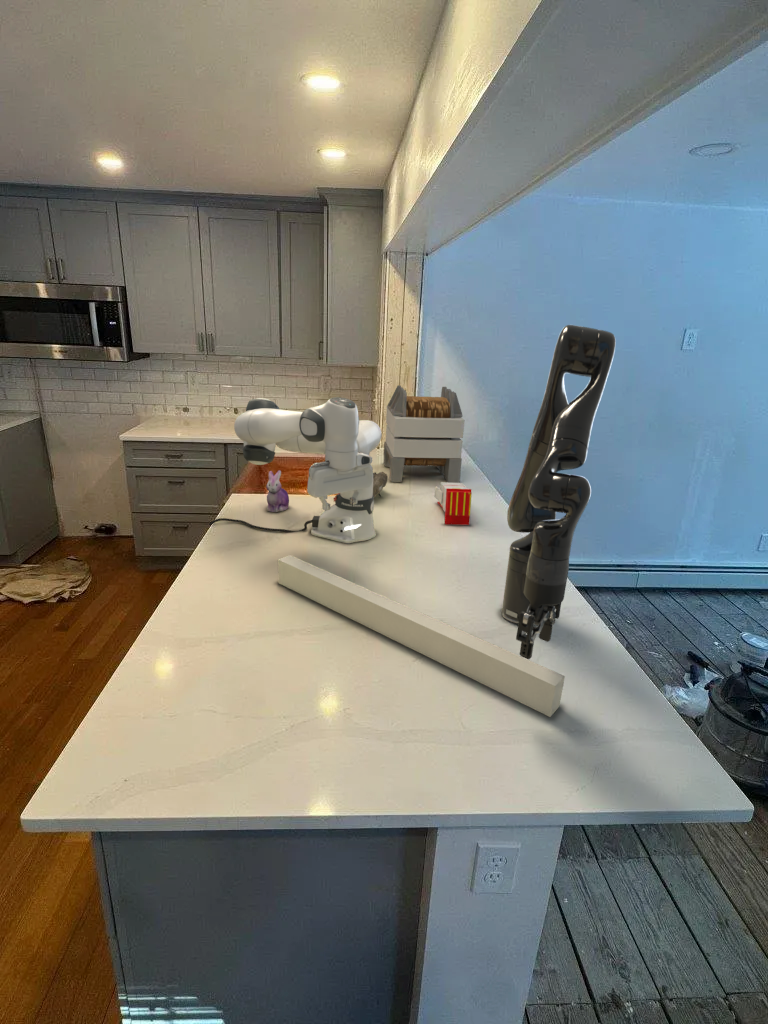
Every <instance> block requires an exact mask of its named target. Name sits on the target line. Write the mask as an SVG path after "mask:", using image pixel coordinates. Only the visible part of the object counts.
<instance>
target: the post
mask: <svg viewBox="0 0 768 1024" xmlns="http://www.w3.org/2000/svg"><path fill="white" fill-rule="evenodd" d="M277 566H278V567H277V570H278V571H277V572H278V573H277V574H278V579H277V580H278V584H279V585H281V586H284V587H286V588H287V589H290V590H291V591H293V592H295V593H298V594H299V595H302V596H303V597H305V598H308V599H309V600H311V601H314V602H315V603H318V604H320V605H321V606H324V607H326V608H328V609H330V610H331V611H333V612H336V613H338V614H340V615H343V616H345V617H346V618H348V619H350V620H353V621H354V622H356V623H358V624H360V625H361V626H364V627H366V628H369V629H370V630H373V631H375V632H377V633H379V634H381V635H383V636H385V637H387V638H388V639H391V640H393V641H395V642H397V643H398V644H401V645H403V646H404V647H407V648H409V649H411V650H414V651H415V652H417V653H418V654H421V655H422V656H423V655H424V656H425V657H427V658H429V659H431V660H433V661H435V662H437V663H439V664H441V665H443V666H445V667H447V668H450V669H451V670H453V671H456V672H458V673H460V674H461V675H464V676H466V677H468V678H470V679H471V680H474V681H476V682H478V683H480V684H482V685H484V686H486V687H488V688H490V689H492V690H494V691H495V692H498V693H500V694H502V695H504V696H506V697H508V698H510V699H512V700H514V701H516V702H517V703H521V704H522V705H524V706H527V707H528V708H530V709H532V710H535V711H536V712H538V713H541V714H542V715H545V716H547V717H549V718H552V716H553V715H554V713H555V712H556V711H557V710H558V709H559V708H560V705H561V700H562V694H563V689H564V683H565V679H566V678H565V677H566V676H565V675H563V674H562V673H560V672H557V671H555V670H553V669H550V668H548V667H545V666H543V665H541V664H539V663H537V662H534V661H532V660H530V659H526V658H524V657H522V656H520V655H518V654H516V653H514V652H512V651H510V650H507V649H505V648H502V647H500V646H497V645H496V644H493V643H491V642H488V641H486V640H484V639H482V638H479V637H477V636H476V635H473V634H470V633H469V632H466V631H464V630H461V629H459V628H457V627H456V626H453V625H451V624H448V623H446V622H443V621H441V620H439V619H436V618H434V617H432V616H430V615H427V614H425V613H423V612H420V611H418V610H416V609H414V608H412V607H409V606H407V605H405V604H403V603H401V602H397V601H395V600H393V599H391V598H389V597H386V596H384V595H382V594H380V593H378V592H375V591H373V590H370V589H368V588H366V587H365V586H362V585H359V584H357V583H354V581H353V582H352V581H351V580H348V579H346V578H343V577H341V576H339V575H336V574H335V573H332V572H329V571H328V570H326V569H323V568H321V567H318V566H316V565H314V564H311V563H309V562H307V561H305V560H303V559H301V558H299V557H296V556H294V555H291V554H289V555H286V556H284V557H281V558H278V559H277Z"/></svg>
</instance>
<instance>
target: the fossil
mask: <svg viewBox="0 0 768 1024" xmlns="http://www.w3.org/2000/svg"><path fill="white" fill-rule="evenodd" d="M388 476H389V475H388V474H387V473H385V472H383V471H379V472H376V471H374V472H373V496H374V498H376V496H377V495H378V496H379V497H380V498H382V495H381V494H380V493H381V491H382V490H383V488H385V487H386V486H387V483H388V478H389V477H388Z"/></svg>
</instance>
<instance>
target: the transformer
mask: <svg viewBox="0 0 768 1024" xmlns="http://www.w3.org/2000/svg"><path fill="white" fill-rule="evenodd" d="M440 393H441V394H440V396H415V395H414V396H413V395H412V396H411V395H407V394H408V393H407V390H406V389H404V388H403V387H402V385H399V384H398V385H397V386H396V388H395V390H394V392H393V394H392V395H391V398H390V400H389V402H388V404H387V405H386V413H385V414H386V415H385V423H386V428H385V438H384V442H383V466H384V467H388V468H389V475H388V476H389V477H388V478H389V480H390V482H391V483H402V482H403V475H404V469H405V466H406V467H407V466H411V467H412V466H413V467H415V466H416V467H417V466H418V467H436V468H437V470H438V469H439V473H440V474H441V475H443V478H444V479H445V481H446V482H447V483H461V472H462V461H463V460H462V453H463V442H464V441H463V440H462V439H463V438H464V431H465V430H464V429H465V419H464V418H463V411H462V408H461V405H460V402H459V398H458V395H457V392H455V391H453V390H452V389H451V388H447V386H442V387H441V392H440Z"/></svg>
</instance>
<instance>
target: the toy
mask: <svg viewBox="0 0 768 1024" xmlns="http://www.w3.org/2000/svg"><path fill="white" fill-rule="evenodd" d="M434 498H435V499H436V500H437V501H436V502H437V504H438V506H439V507H440V508H442V510H443V512H444V525H452V526H453V525H456V526H470V516H471V509H472V508H471V507H472V488H467V487H466V485H464V483H462V482H459V483H448V482H447V481H446V482H445V481H444V482H443V481H441V482H439V487H438V486H437V485H436V486H435V487H434Z"/></svg>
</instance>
